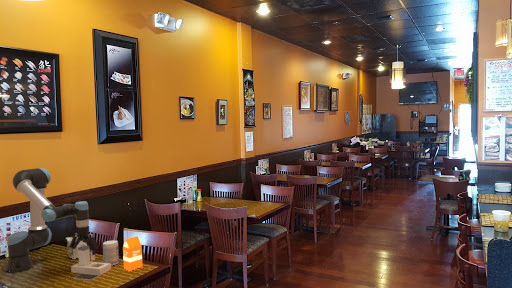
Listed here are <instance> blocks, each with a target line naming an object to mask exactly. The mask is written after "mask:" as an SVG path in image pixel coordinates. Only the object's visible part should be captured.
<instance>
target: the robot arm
mask: <svg viewBox="0 0 512 288" xmlns="http://www.w3.org/2000/svg"><path fill="white" fill-rule="evenodd" d="M51 180H52V179H51V174H50V172H49V171H48V170H47V169H46V168H43V167H39V168H38V167H37V168H30V169H22V170H21V169H20V170H18V171H17V172H16V173H15V174H13V177H12V186H13V187H14V189H15V190H16V191H17V192H19V193H21V194H23V195H24V196H25V198H27V200H29V204H30V205H29V209H30V210H29V211H30V213H29V214H30V216H29V217H30V226H29V227H28V228H27V230H21V231H16V232H14V233H13V232H12V233H11V234H9V235H8V236H7V242H6V244H7V256H8V257H7V263H6V266H5V272H6V271H10V272H9V273H19V271H20V272H24V271H28V270H30V269H31V268H33V266H34V264H33V261H32V258H31V256H30V250H34V249H37V248H39V247H40V248H41V247H44V246H46V245H48V244H49V243H50V242H51V240H52V236H53V234H52V231H51V229H50V228H49V227H48V225H46V222H48V223H49V222H53V221H57V220H60V219H64V218H65V219H66V218H68V217H75V223H76V224H75V225H76V229H75V230H76V232H75V233H73V234H72V237H73V238H72V241H71V244H70V248H72V249H73V254H74V259H73V260H77V259H76V258H78V249H77V248H76V247H77V245H78V244H79V242H80V241H83V242H84V243H86V244H87V246H89V249H91V250H90V262H94V261H95V260H96V254H97V253H96V250H97V249H99V246H98V244H97V242H96V239H95V237H94V233H90V218H89V217H90V214H89V213H90V212H89V208H90V207H89V204H88V202H87V201H86V200H84V201H83V200H82V201H76V202H75V203H74V204H73V203H66V204H65V203H64V204H63V205H60V206H55V205H54V204H53V203H52V202H51V201H50V200H49V199H48V197H46V196H45V190H46V189H47V188H48V186H47V185H48V184H50V182H51ZM77 237H78V238H77ZM76 239H77V241H76ZM78 259H79V258H78Z"/></svg>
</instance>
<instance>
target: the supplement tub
mask: <svg viewBox="0 0 512 288" xmlns="http://www.w3.org/2000/svg"><path fill="white" fill-rule="evenodd" d="M102 253H103V254H102V255H103V256H102V257H103V263H111V267H113V265H114V266H117V265H118V264H119V263H120V254H119V241H118V240H107V241H106V240H105V241H104V242H103V243H102ZM116 264H117V265H116Z"/></svg>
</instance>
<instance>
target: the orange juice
mask: <svg viewBox="0 0 512 288" xmlns="http://www.w3.org/2000/svg"><path fill="white" fill-rule="evenodd" d="M142 247H143V246H142V244H141V241H140V238H139V236H138V235H136V236H132V237H128V238H125V240H124V243H123V246H122V253H123V257H122V258H123V270H125V269H126V270H125V271H127V270H128V271H127V272H129V271H131V272H133V271H132V270H134V271H136V270H135V269H137V268H140V267H142V268H143V249H142ZM137 270H138V269H137Z"/></svg>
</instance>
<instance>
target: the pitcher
mask: <svg viewBox="0 0 512 288" xmlns="http://www.w3.org/2000/svg"><path fill="white" fill-rule="evenodd" d="M72 238H73V236H70V237H69V236H68V237H65V240H67V241H66V242H67V245H66V251H67V256H68V257H69V258H70V259H71V258H72V259H71V260H75V259H74V254H73V249H72V248H70V244H71V241H72ZM77 238H78V237H77ZM76 241H77V239H76ZM81 246H88V244H87V242H84V241H80V242H79V244H78V245H77V247H76V248H77V249H78V248H79V247H81ZM78 259H79V253H78Z"/></svg>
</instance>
